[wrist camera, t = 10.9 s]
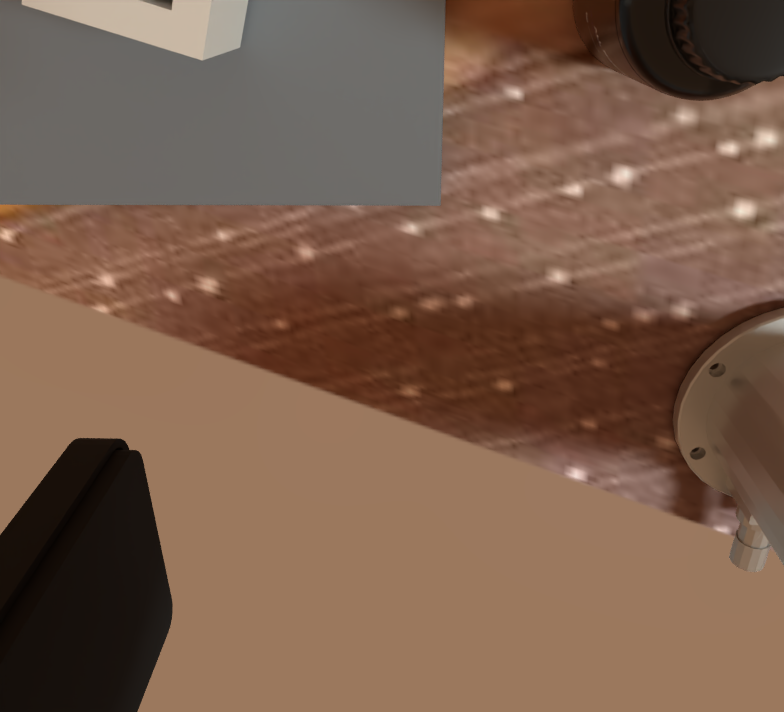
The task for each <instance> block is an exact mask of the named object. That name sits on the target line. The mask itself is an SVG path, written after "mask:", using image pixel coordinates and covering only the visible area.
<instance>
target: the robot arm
mask: <svg viewBox="0 0 784 712" xmlns="http://www.w3.org/2000/svg"><path fill="white" fill-rule="evenodd" d="M673 427H674V434H675V439H676V442H677V444H678V447H679V449H680V452H681V454H682V456H683V457H684V459H685V460H686V462H687V464H688V465H689V467H690V469H691V470H692V471H693V472H694V473H695V474H696V475H697V476H698V477H699V478H700V479H701V480H702V481H703V482H704V483H706V484H707V485H709V486H710V487H712V488H713V489H715V490H717V491H719V492H721V493H724V494H726V495H729V496H731V497H733V498H734V499H735V501H736V503H737V504H738V505H737V509H736V512H735V513H736V517H737V519H738V520H739V521H740V525H739V528H738V530H737V531H736V534H735V537H734V541H733V544H732V548H731V551H730V556H729V558H730V560H731V561H732V563H733V564H734V565H736V566H737V567H738V568H740V569H743V570H745V571H750V572H757V571H760V570H762V569H763V567H764V565H765V562H766V559H767V555H768V552H769V549H770V546H772V548H773V549H774V551H775V552H776V554H777V556H778V557H779V559H780V560H781V562H782V563H783V565H784V308H781V309H777V310H774V311H770V312H767V313H763V314H761V315H759V316H757V317H754V318H752V319H750V320H748V321H746V322H743V323H741V324H740V325H738V326H737V327H735V328H733V329H732V330H730V331H729V332H727V333H726V334H724V335H723V336H721V337H720V338H719V339H718V340H717V341H715V342H714V343H713V344H712V345H711V346H710V347H709V348H707V349H706V350H705V351H704V352H703V353H702V355H701V356H700V357H699V358H698V360H697V361H696V362H695V363H694V364H693V366H692V367H691V368H690V370H689V372H688V373H687V375H686V377H685V379H684V381H683V382H682V384H681V386H680V389H679V392H678V395H677V398H676V401H675V404H674V414H673ZM171 620H172V598H171V594H170V588H169V584H168V579H167V574H166V569H165V564H164V559H163V555H162V550H161V545H160V540H159V535H158V531H157V527H156V521H155V516H154V512H153V507H152V502H151V497H150V492H149V487H148V483H147V478H146V473H145V469H144V463H143V459H142V456H141V454H140V453H139V451H136V450H129V448H128V445H127V444H126V442H125V441H124V440H122V439H100V438H97V439H95V438H78V439H75V440H74V441H73V442H71V444H69V446H68V447H67V449H66V450H65V451H64V452H63V454H62V455H61V456H60V458H59V459H58V460H57V462H56V463H55V464H54V465H53V467H52V468H51V469H50V471H49V472H48V474H47V475H46V476H45V477H44V478H43V480H42V481H41V483H40V484H39V485H38V486H37V488H36V489H35V490H34V492H33V493H32V494H31V496H30V497H29V498H28V500H27V501H26V502H25V503H24V505H23V506H22V508H21V509H20V510H19V511H18V513H17V514H16V515H15V517H14V518H13V519H12V520H11V522H10V523H9V524H8V526H7V527H6V528H5V530H4V531H3V532H2V533H1V535H0V712H137V711H138V709H139V706H140V703H141V701H142V698H143V696H144V693H145V691H146V688H147V685H148V683H149V680H150V678H151V675H152V672H153V670H154V667H155V665H156V662H157V660H158V657H159V655H160V652H161V649H162V647H163V644H164V642H165V639H166V637H167V634H168V631H169V628H170V625H171Z"/></svg>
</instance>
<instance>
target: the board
mask: <svg viewBox="0 0 784 712" xmlns="http://www.w3.org/2000/svg"><path fill="white" fill-rule="evenodd" d="M445 5H446V0H248V5H247V11H246V16H245V22H244V28H243V33H242V39H241V45H240V48H237V49H234V50H232V51H229V52H226V53H223V54H220V55H217V56H214V57H211V58H208V59H205V60H203V61H202V60H199V59H196V58H192V57H189V56H186V55H183V54H180V53H176V52H173V51H170V50H167V49H163V48H160V47H157V46H154V45H151V44H147V43H144V42H141V41H138V40H134V39H131V38H128V37H125V36H121V35H118V34H115V33H112V32H109V31H105V30H102V29H99V28H96V27H92V26H89V25H86V24H83V23H80V22H76V21H73V20H70V19H67V18H63V17H60V16H57V15H54V14H50V13H47V12H44V11H41V10H38V9H34V8H31V7H28V6H25V5H22V0H0V204H21V205H431V206H441V165H442V125H443V85H444V45H445Z"/></svg>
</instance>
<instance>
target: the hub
mask: <svg viewBox="0 0 784 712" xmlns="http://www.w3.org/2000/svg"><path fill="white" fill-rule="evenodd" d="M22 5H25V6H28V7H31V8H34V9H38V10H41V11H44V12H47V13H50V14H54V15H57V16H60V17H63V18H67V19H70V20H73V21H76V22H80V23H83V24H86V25H89V26H92V27H96V28H99V29H102V30H105V31H109V32H112V33H115V34H118V35H121V36H125V37H128V38H131V39H134V40H138V41H141V42H144V43H147V44H151V45H154V46H157V47H160V48H163V49H167V50H170V51H173V52H176V53H180V54H183V55H186V56H189V57H192V58H196V59H199V60H202V61H203V60H205V59H208V58H211V57H214V56H217V55H220V54H223V53H226V52H229V51H232V50H234V49H237V48H240V45H241V39H242V33H243V28H244V22H245V16H246V11H247V5H248V0H22Z"/></svg>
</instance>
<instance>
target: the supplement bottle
mask: <svg viewBox="0 0 784 712" xmlns="http://www.w3.org/2000/svg"><path fill="white" fill-rule="evenodd" d="M573 11H574V18H575V23H576V26H577V29H578V32H579V34H580V37H581V39H582V41H583V42H584V44H585V46H586V47H587V48H588V50H589V51H590V52H591V53H592V54H593V56H594V57H596V58H597V59H598V60H599V61H600V62H601V63H603V64H604V65H606V66H608V67H609V68H611V69H613V70H615V71H616V72H619V73H621V74H623V75H625V76H627V77H629V78H631V79H634V80H636V81H638V82H640V83H642V84H644V85H647V86H649V87H651V88H653V89H655V90H657V91H660V92H662V93H664V94H667V95H670V96H673V97H677V98H681V99H686V100H696V101H704V100H714V99H720V98H724V97H728V96H731V95H734V94H737V93H740V92H742V91H744V90H747V89H748V88H750V87H752V86H754V85H756V84H758V83H760V82H762V81H768V82H771V81H773V80H775V79H776V78H777V77H779V76H784V0H573Z"/></svg>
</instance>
